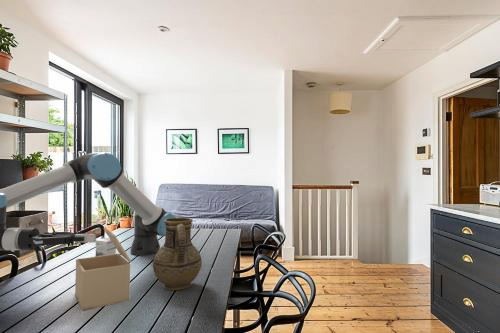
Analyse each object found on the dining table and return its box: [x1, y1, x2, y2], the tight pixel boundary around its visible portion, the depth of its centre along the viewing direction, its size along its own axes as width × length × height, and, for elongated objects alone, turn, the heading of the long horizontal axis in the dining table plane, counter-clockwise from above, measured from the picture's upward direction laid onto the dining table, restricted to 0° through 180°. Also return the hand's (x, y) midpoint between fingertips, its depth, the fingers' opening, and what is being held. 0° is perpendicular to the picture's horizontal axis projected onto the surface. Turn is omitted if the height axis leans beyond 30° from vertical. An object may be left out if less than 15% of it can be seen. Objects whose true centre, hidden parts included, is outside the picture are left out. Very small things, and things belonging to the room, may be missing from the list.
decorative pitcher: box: [152, 217, 203, 291], centre depth 117 cm, size 22×18×25 cm
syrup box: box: [95, 237, 117, 257], centre depth 130 cm, size 6×6×14 cm
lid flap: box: [103, 227, 132, 263], centre depth 109 cm, size 15×11×1 cm
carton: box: [74, 253, 131, 312], centre depth 106 cm, size 16×14×12 cm
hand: (95, 238), depth 110 cm, fingers closed
